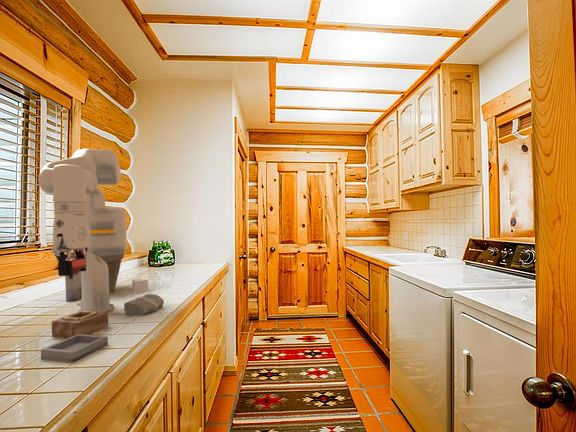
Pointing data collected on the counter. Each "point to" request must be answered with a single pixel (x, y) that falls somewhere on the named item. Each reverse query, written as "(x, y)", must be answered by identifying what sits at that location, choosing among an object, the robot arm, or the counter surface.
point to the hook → (74, 281)
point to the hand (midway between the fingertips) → (72, 272)
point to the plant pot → (110, 269)
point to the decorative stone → (143, 305)
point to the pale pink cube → (140, 285)
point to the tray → (74, 348)
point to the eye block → (79, 324)
